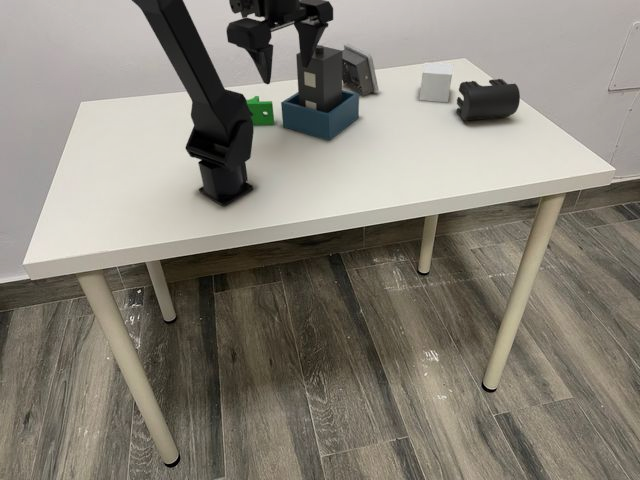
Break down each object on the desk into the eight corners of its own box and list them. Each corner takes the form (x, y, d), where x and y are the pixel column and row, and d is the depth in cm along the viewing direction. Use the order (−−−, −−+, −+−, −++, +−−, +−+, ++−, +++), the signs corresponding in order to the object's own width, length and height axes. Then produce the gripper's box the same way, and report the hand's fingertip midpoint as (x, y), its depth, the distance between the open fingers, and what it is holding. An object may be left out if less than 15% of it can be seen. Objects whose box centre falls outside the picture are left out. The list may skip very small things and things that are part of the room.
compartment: (329, 140, 90) (329, 115, 86) (282, 126, 94) (280, 102, 91) (358, 117, 96) (359, 93, 93) (313, 105, 101) (312, 82, 98)
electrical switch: (379, 93, 105) (378, 52, 99) (360, 101, 103) (358, 59, 97) (354, 80, 111) (352, 40, 105) (336, 87, 110) (333, 47, 103)
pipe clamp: (275, 116, 98) (273, 95, 95) (273, 125, 95) (271, 103, 92) (221, 117, 98) (218, 95, 95) (218, 125, 95) (214, 103, 92)
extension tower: (324, 131, 91) (322, 55, 82) (299, 123, 94) (295, 48, 84) (342, 119, 95) (342, 44, 85) (318, 112, 98) (315, 39, 88)
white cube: (447, 102, 101) (452, 74, 97) (419, 100, 102) (422, 72, 98) (449, 91, 105) (453, 64, 101) (421, 89, 107) (425, 62, 103)
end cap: (465, 127, 92) (472, 94, 88) (453, 111, 98) (458, 79, 93) (514, 123, 93) (523, 89, 89) (499, 107, 98) (507, 75, 94)
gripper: (284, -45, 80) (290, 49, 90) (194, -24, 69) (213, 80, 80) (335, -37, 74) (335, 63, 84) (245, -13, 64) (258, 98, 74)
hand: (286, 75), depth 81 cm, fingers open, 9 cm apart
